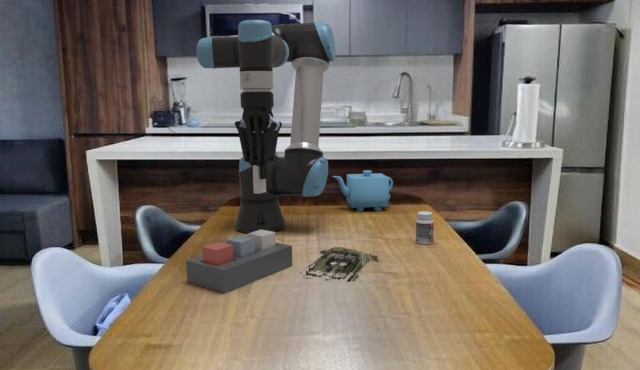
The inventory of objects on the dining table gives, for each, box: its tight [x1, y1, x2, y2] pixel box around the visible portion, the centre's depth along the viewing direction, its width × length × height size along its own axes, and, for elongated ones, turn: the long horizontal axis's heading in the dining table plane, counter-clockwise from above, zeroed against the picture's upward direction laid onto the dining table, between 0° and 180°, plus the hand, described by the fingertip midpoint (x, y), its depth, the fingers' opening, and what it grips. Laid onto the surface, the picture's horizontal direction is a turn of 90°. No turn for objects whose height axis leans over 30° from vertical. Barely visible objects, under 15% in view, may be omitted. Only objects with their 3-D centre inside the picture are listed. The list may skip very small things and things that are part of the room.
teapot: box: [331, 169, 394, 213], centre depth 190 cm, size 22×11×14 cm, turn 96°
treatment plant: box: [299, 246, 380, 282], centre depth 129 cm, size 25×18×4 cm
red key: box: [202, 241, 233, 266], centre depth 117 cm, size 5×5×4 cm
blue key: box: [225, 234, 255, 258], centre depth 123 cm, size 5×5×4 cm
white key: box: [247, 230, 277, 250], centre depth 128 cm, size 5×5×4 cm
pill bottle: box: [415, 211, 435, 246], centre depth 146 cm, size 5×5×8 cm
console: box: [185, 242, 293, 294], centre depth 123 cm, size 12×22×5 cm, turn 143°
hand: (259, 192), depth 126 cm, fingers closed
